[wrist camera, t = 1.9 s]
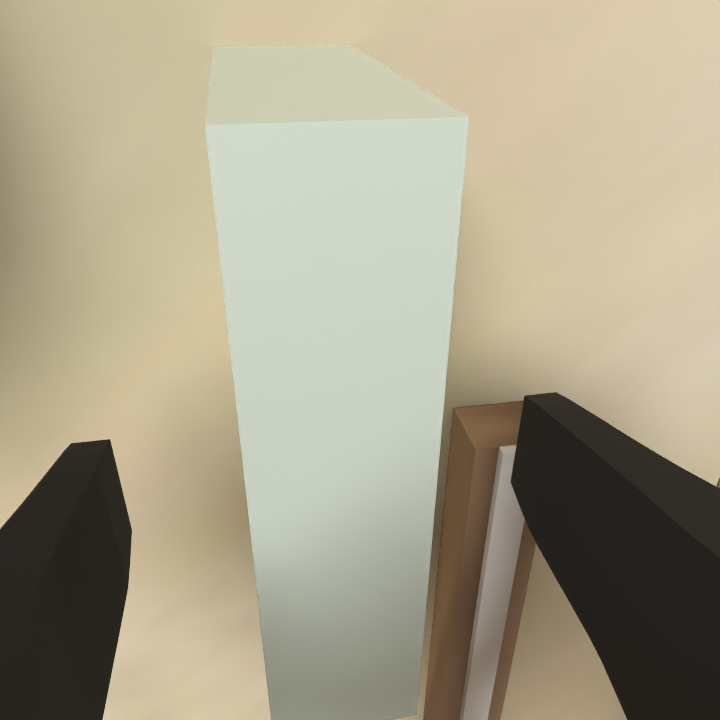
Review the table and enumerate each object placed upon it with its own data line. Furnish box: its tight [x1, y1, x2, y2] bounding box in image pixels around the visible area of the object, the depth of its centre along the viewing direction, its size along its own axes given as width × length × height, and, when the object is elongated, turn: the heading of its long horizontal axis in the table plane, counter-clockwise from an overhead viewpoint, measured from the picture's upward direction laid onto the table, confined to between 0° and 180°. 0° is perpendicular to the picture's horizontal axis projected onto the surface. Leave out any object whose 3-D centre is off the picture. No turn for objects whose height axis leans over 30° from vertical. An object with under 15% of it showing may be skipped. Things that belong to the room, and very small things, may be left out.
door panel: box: [205, 45, 469, 720], centre depth 14 cm, size 3×12×8 cm, turn 179°
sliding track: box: [423, 401, 720, 720], centre depth 25 cm, size 13×20×2 cm, turn 179°
